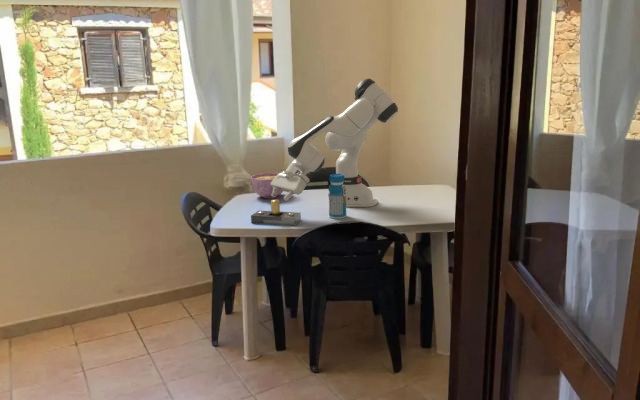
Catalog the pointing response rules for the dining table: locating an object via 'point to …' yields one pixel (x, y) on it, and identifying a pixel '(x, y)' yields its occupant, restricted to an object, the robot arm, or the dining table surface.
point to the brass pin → (275, 207)
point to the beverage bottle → (337, 197)
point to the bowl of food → (264, 184)
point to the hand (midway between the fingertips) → (278, 198)
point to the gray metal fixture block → (276, 218)
